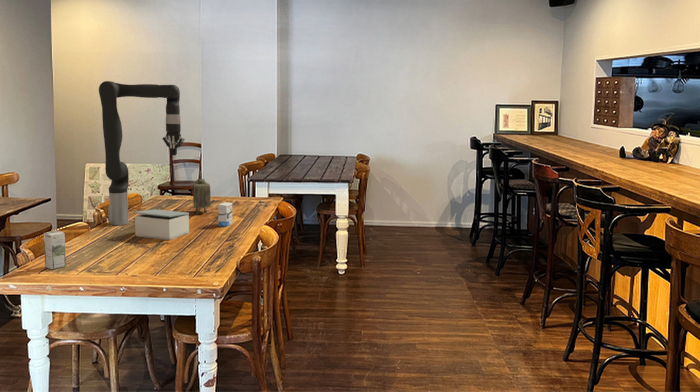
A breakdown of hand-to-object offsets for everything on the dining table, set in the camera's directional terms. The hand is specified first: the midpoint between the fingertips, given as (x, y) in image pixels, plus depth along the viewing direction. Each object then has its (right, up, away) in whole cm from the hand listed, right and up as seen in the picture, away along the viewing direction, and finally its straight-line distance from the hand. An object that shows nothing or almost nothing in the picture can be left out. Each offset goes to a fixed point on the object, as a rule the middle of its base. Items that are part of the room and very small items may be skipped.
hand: (173, 155), depth 328 cm
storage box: (+1, -41, -22) cm, 47 cm away
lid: (+1, -31, -24) cm, 39 cm away
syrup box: (-25, -51, -79) cm, 98 cm away
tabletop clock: (+7, -32, +35) cm, 48 cm away
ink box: (+27, -38, +4) cm, 46 cm away
